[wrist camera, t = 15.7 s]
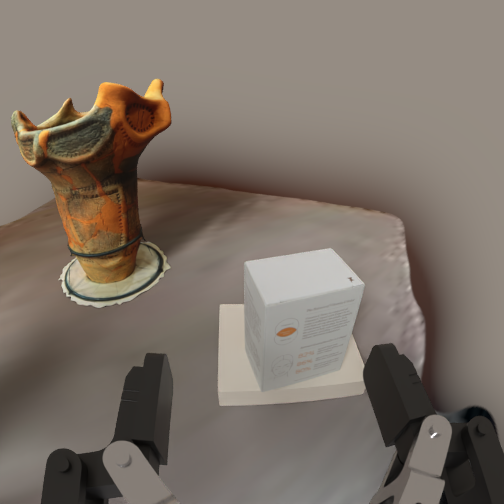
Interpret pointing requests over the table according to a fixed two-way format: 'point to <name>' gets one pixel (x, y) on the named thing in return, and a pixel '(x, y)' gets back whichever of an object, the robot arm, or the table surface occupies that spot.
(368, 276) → the table surface
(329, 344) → the small box
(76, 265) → the decorative vase
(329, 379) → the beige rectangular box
